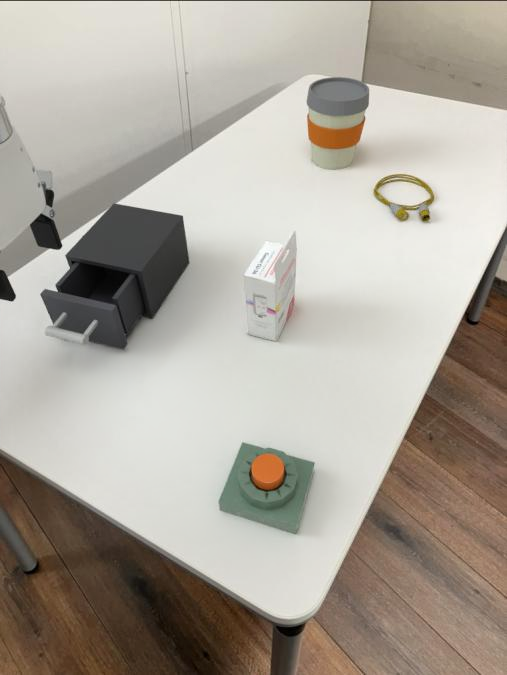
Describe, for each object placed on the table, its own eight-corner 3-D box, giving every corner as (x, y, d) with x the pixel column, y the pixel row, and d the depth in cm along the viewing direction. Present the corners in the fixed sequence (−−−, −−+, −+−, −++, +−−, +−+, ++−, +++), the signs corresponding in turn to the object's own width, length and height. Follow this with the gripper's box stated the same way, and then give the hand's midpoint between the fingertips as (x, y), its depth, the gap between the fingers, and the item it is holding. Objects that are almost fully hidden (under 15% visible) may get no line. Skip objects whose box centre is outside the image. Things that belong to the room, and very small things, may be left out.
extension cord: (362, 214, 98) (364, 205, 96) (381, 175, 108) (383, 166, 106) (427, 227, 94) (429, 218, 93) (440, 185, 104) (443, 176, 103)
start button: (247, 485, 56) (246, 477, 55) (257, 457, 59) (257, 449, 57) (278, 494, 55) (278, 487, 54) (287, 466, 58) (288, 458, 56)
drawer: (109, 371, 71) (95, 333, 66) (40, 353, 74) (20, 314, 68) (164, 290, 83) (156, 251, 77) (102, 276, 85) (90, 238, 80)
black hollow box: (152, 319, 80) (141, 271, 73) (82, 302, 82) (64, 255, 75) (189, 262, 89) (182, 215, 82) (125, 249, 92) (113, 203, 85)
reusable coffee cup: (292, 161, 112) (294, 90, 101) (325, 140, 119) (330, 72, 108) (339, 179, 107) (347, 107, 96) (371, 156, 113) (382, 86, 102)
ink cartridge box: (265, 298, 82) (265, 221, 71) (295, 306, 81) (299, 228, 70) (245, 334, 77) (241, 257, 66) (276, 343, 75) (277, 265, 65)
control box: (219, 510, 58) (217, 494, 55) (242, 451, 63) (241, 433, 60) (295, 534, 56) (297, 519, 53) (313, 471, 61) (315, 454, 58)
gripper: (-10, 88, 54) (40, 225, 66) (-138, 166, 43) (-48, 314, 55) (52, 95, 53) (92, 234, 65) (-63, 177, 41) (12, 327, 53)
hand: (28, 271), depth 60 cm, fingers open, 9 cm apart
